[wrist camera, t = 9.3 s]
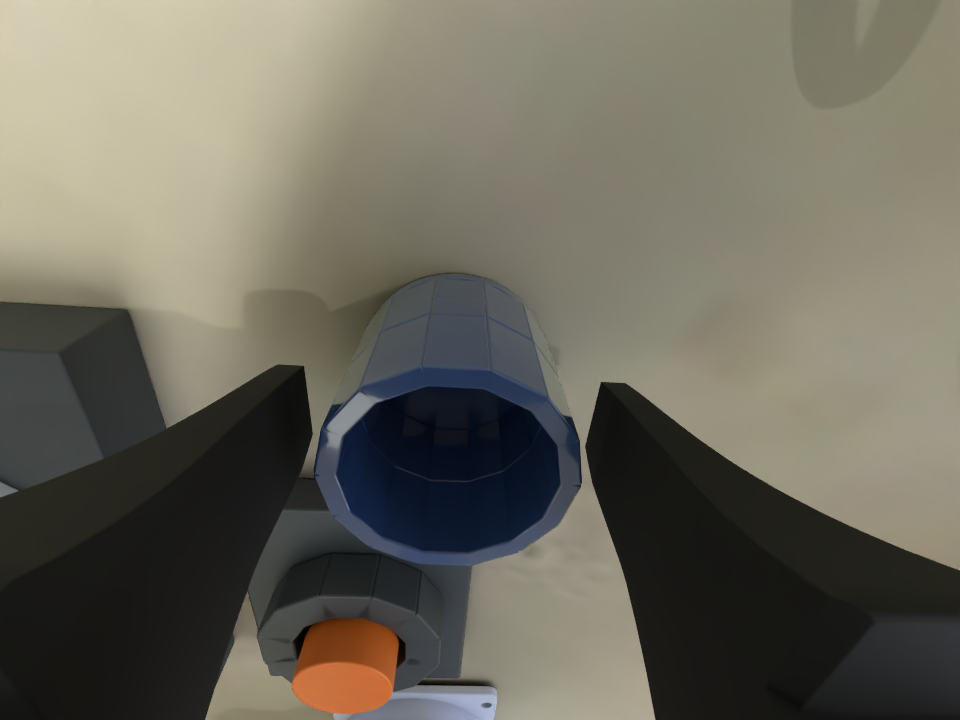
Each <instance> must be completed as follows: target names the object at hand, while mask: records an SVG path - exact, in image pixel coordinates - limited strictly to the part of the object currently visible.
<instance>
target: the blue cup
mask: <svg viewBox="0 0 960 720" xmlns="http://www.w3.org/2000/svg"><path fill="white" fill-rule="evenodd" d="M314 477H315V479H316V481H317V484H318V486H319V488H320V491H321V493H322V495H323V497H324V500H325V502H326V504H327V507H328V509H329V511H330V513H331V515H332V516H333V518H334V519H336V520H337V521H338V522H339V523H340V524H342V525H343V526H344V527H345V528H346V529H348V530H349V531H350V532H351V533H353V534H354V535H355V536H356V537H357V538H359V539H360V540H361V541H362V542H364V543H365V544H366V545H367V546H369V547H371V548H373V549H376V550H378V551H381V552H384V553H387V554H390V555H393V556H396V557H399V558H402V559H405V560H408V561H410V562H413V563H416V564H417V563H419V564H428V565H462V566H469V565H470V564H471V565H475V564H479V563H483V562H486V561H490V560H494V559H497V558H501V557H504V556H508V555H512V554H515V553H518V552H519V551H522V550H524V549H525V548H527V547H528V546H530V545H531V544H532V543H534V542H535V541H537V540H538V539H540V538H541V537H542V536H544V535H545V534H547V533H548V532H549V531H551V530H552V529H554V528H555V527H557V526H558V525H559V524H560V523H561V521H562V519H563V517H564V516H565V514H566V512H567V510H568V508H569V507H570V505H571V503H572V501H573V500H574V498H575V496H576V494H577V492H578V491H579V489H580V487H581V483H582V475H581V456H580V440H579V437H578V434H577V431H576V428H575V425H574V422H573V419H572V416H571V413H570V410H569V407H568V404H567V401H566V398H565V394H564V391H563V388H562V385H561V382H560V380H559V376H558V373H557V370H556V367H555V364H554V361H553V358H552V355H551V352H550V349H549V346H548V343H547V340H546V337H545V335H544V333H543V332H542V330H541V329H540V326H539V324H538V322H537V320H536V318H535V316H534V315H533V313H532V312H531V310H530V309H529V308H528V306H527V305H526V304H525V303H524V302H523V301H522V300H521V299H520V298H519V297H518V296H516V295H515V294H514V293H512V292H511V291H510V290H508V289H507V288H505V287H503V286H501V285H500V284H498V283H496V282H493V281H491V280H488V279H486V278H482V277H478V276H474V275H467V274H440V275H433V276H429V277H426V278H422V279H419V280H417V281H414V282H412V283H410V284H408V285H406V286H404V287H403V288H401V289H399V290H398V291H397V292H395V293H394V294H393V295H391V296H390V297H389V298H388V299H387V300H386V301H385V302H384V303H383V304H382V305H381V307H380V308H379V309H378V311H377V312H376V314H375V315H374V317H373V319H372V320H371V321H370V323H369V324H368V325H367V327H366V329H365V331H364V334H363V336H362V338H361V340H360V343H359V345H358V347H357V349H356V351H355V354H354V356H353V358H352V360H351V363H350V365H349V367H348V370H347V372H346V374H345V376H344V378H343V381H342V383H341V385H340V387H339V390H338V392H337V394H336V396H335V399H334V401H333V403H332V405H331V408H330V410H329V412H328V414H327V416H326V419H325V421H324V423H323V425H322V428H321V432H320V437H319V443H318V449H317V454H316V460H315V465H314Z"/></svg>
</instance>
